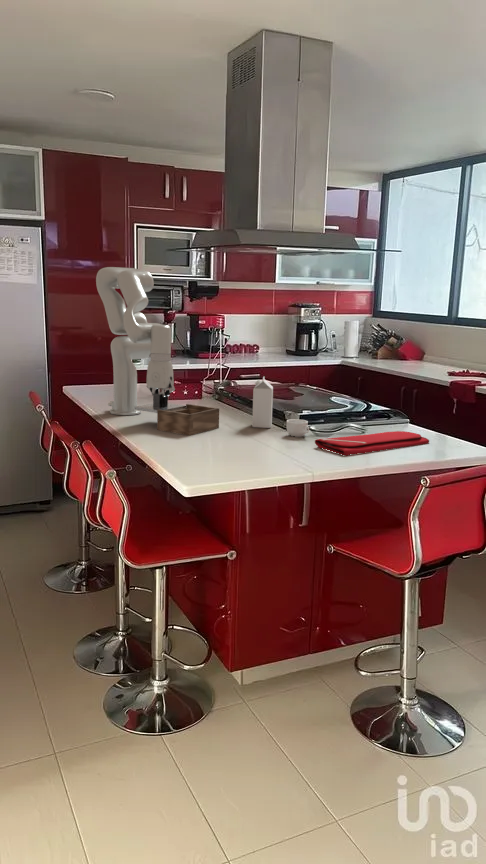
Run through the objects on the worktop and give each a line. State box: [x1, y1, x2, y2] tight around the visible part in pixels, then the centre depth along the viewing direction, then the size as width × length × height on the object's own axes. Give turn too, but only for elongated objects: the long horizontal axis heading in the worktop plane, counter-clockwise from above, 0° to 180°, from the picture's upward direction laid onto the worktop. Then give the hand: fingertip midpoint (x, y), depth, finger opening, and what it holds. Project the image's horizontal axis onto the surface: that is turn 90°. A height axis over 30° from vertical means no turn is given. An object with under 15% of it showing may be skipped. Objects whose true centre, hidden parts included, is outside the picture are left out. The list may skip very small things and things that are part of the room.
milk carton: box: [251, 375, 274, 429], centre depth 265 cm, size 7×7×19 cm
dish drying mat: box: [314, 430, 430, 456], centre depth 239 cm, size 16×41×4 cm, turn 125°
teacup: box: [286, 418, 310, 438], centre depth 250 cm, size 10×8×5 cm
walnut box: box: [156, 403, 220, 436], centre depth 257 cm, size 15×18×8 cm
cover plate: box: [134, 391, 186, 414], centre depth 263 cm, size 13×15×6 cm
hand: (160, 405), depth 264 cm, fingers closed on cover plate, 3 cm apart
